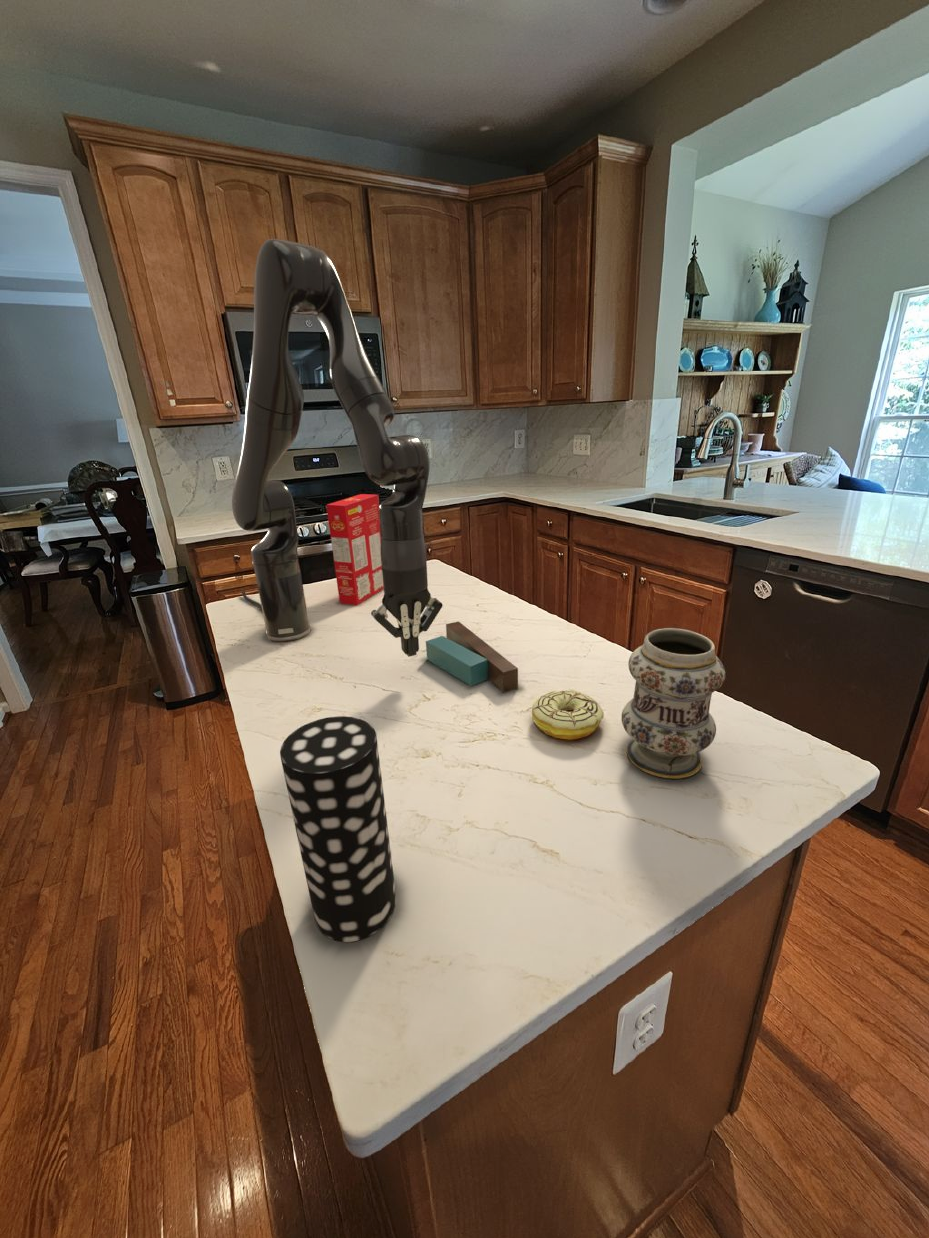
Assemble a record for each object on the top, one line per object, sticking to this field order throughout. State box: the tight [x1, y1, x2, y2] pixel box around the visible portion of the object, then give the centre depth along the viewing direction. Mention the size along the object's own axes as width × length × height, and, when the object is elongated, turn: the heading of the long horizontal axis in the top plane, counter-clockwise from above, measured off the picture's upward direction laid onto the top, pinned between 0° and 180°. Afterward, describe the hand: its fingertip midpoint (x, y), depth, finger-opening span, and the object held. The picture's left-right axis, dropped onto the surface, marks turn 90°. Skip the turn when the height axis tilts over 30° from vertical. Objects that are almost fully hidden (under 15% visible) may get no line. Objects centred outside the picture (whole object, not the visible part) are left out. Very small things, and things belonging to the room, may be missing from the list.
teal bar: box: [425, 635, 489, 687], centre depth 100 cm, size 14×4×4 cm, turn 38°
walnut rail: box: [445, 621, 519, 693], centre depth 102 cm, size 24×3×4 cm, turn 26°
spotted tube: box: [279, 715, 397, 943], centre depth 51 cm, size 8×8×20 cm
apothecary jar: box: [621, 627, 726, 780], centre depth 71 cm, size 12×12×18 cm
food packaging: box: [325, 493, 384, 606], centre depth 136 cm, size 15×5×25 cm, turn 157°
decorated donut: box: [531, 689, 605, 741], centre depth 82 cm, size 10×11×4 cm
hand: (410, 654), depth 96 cm, fingers closed
